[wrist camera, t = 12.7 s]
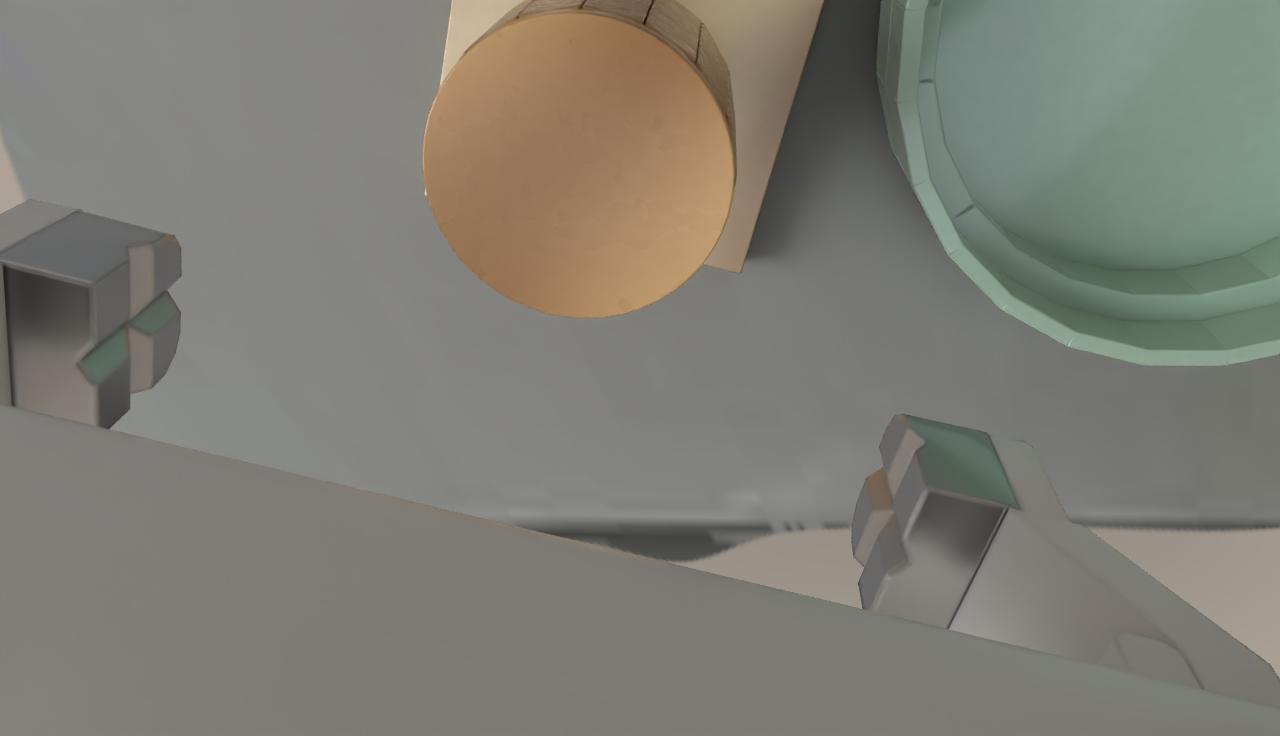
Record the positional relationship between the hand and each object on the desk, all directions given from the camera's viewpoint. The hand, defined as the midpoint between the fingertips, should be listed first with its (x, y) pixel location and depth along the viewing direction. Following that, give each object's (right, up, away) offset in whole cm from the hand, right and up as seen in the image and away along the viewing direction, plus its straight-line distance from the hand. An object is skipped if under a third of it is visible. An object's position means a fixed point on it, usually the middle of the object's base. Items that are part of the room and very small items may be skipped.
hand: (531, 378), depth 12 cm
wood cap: (0, +6, +13) cm, 15 cm away
